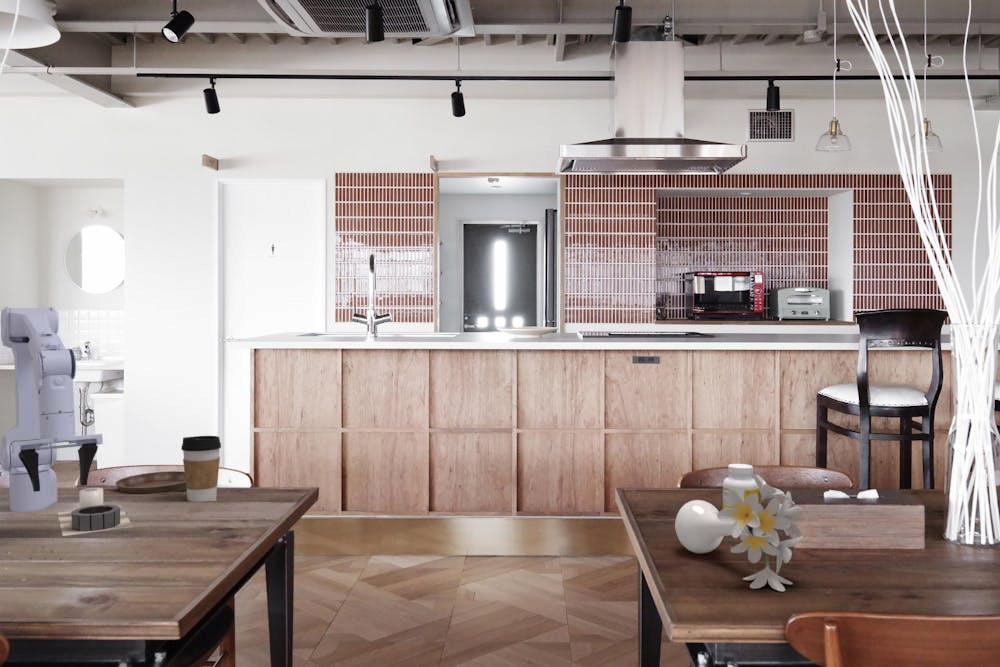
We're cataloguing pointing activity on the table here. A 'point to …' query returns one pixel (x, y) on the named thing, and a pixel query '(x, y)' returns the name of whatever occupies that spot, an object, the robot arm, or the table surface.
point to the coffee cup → (201, 467)
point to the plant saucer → (153, 482)
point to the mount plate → (66, 529)
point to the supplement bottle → (739, 483)
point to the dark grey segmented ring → (95, 517)
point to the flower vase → (744, 529)
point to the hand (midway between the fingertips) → (60, 488)
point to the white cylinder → (90, 497)
